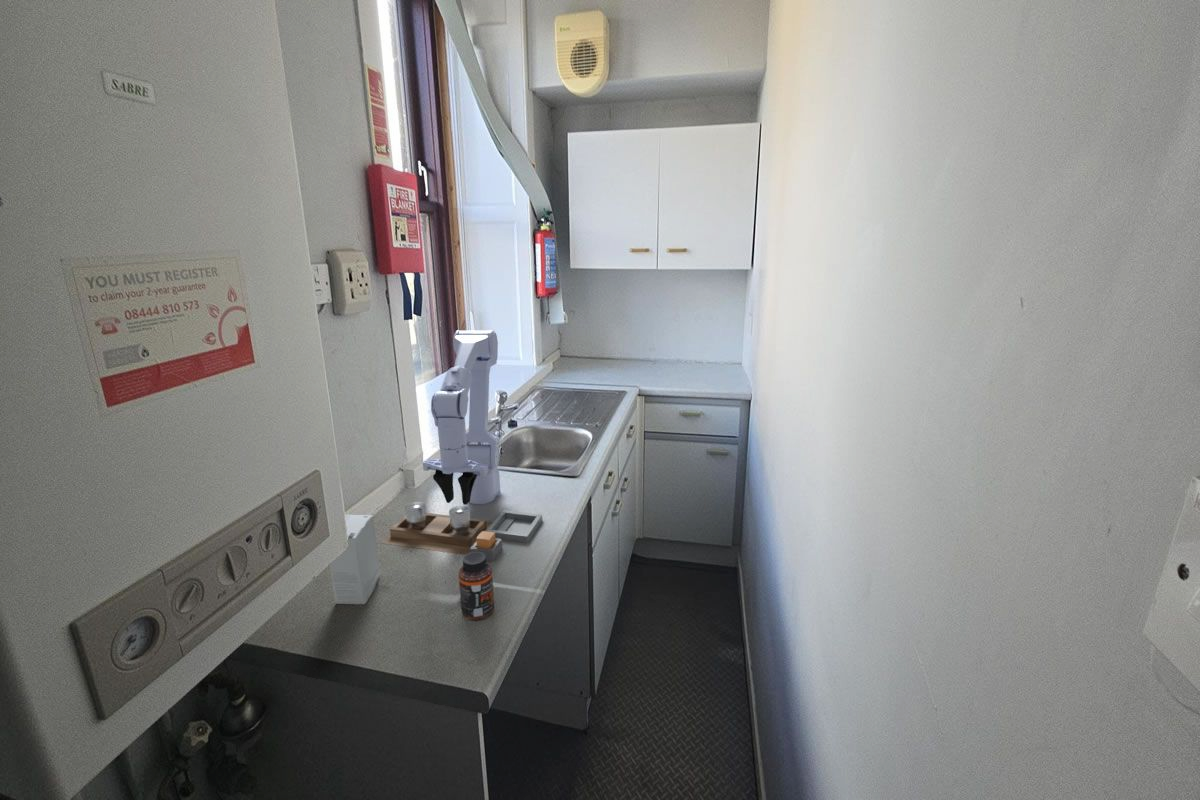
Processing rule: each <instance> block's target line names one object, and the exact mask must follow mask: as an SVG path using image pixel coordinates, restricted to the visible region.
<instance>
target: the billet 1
mask: <svg viewBox="0 0 1200 800" xmlns="http://www.w3.org/2000/svg"><path fill="white" fill-rule="evenodd" d="M404 508H405V509H404V511H405V515H406V520H407V528H408V529H414V530H423V529H424V528H425V527H426V526H427V516H426V513H427V508H426V503H425V502H423V501H413V502H409V503H407V504H406V505H405V507H404Z"/></svg>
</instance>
